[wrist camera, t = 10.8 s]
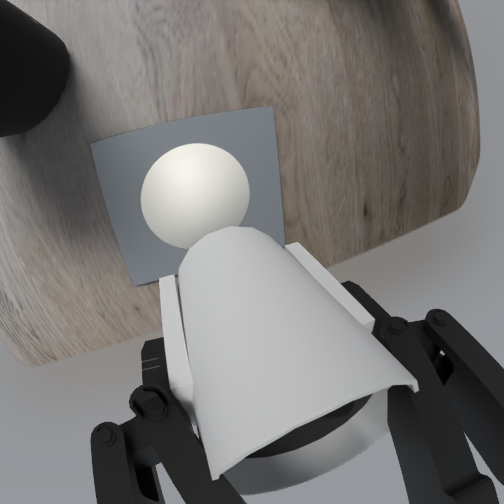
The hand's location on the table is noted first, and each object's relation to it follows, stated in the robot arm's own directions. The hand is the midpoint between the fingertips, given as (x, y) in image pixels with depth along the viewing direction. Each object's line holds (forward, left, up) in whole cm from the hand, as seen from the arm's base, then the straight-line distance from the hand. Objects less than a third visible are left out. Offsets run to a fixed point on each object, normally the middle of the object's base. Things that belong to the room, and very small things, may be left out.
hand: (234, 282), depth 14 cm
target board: (0, 0, -16) cm, 16 cm away
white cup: (0, 0, -1) cm, 1 cm away
